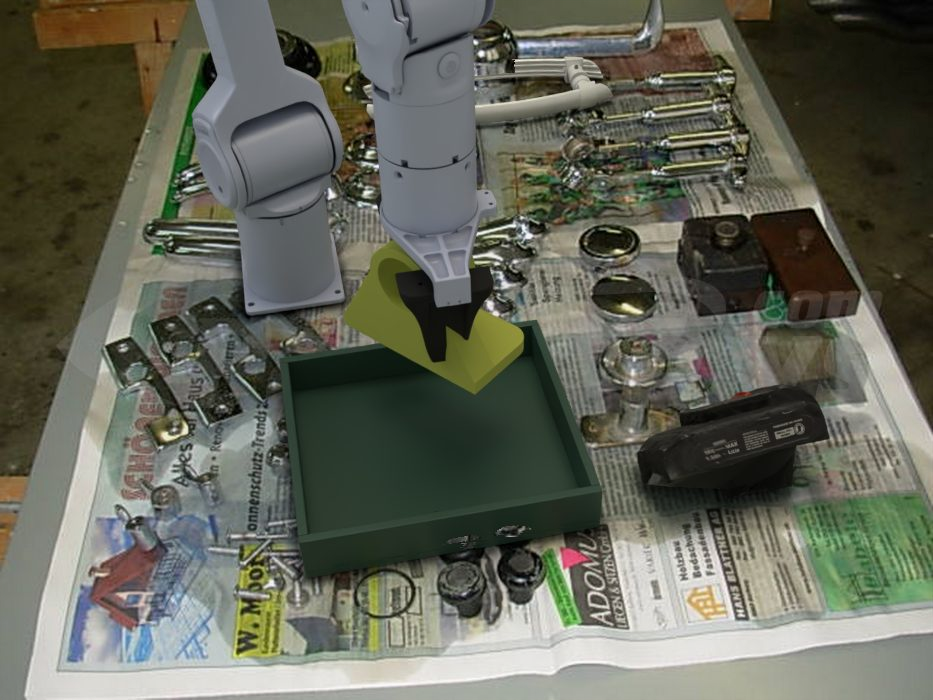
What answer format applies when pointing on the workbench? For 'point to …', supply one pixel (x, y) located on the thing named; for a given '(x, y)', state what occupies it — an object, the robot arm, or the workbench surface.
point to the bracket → (399, 330)
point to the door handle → (579, 97)
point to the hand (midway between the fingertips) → (436, 322)
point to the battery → (736, 442)
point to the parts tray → (429, 456)
